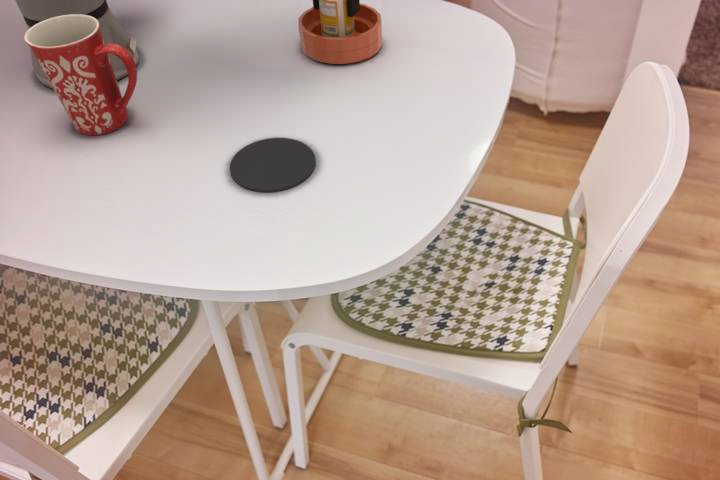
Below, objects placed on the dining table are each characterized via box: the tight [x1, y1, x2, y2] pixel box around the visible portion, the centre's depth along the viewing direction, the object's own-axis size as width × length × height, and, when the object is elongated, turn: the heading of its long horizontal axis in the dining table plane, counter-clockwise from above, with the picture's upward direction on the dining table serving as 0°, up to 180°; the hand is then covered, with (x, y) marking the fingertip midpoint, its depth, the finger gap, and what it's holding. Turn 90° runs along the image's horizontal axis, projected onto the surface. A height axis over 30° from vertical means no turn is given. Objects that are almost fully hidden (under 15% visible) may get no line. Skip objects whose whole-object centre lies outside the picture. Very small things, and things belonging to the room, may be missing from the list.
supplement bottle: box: [319, 0, 355, 38], centre depth 96 cm, size 5×5×10 cm
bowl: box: [297, 3, 383, 65], centre depth 99 cm, size 13×13×4 cm
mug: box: [23, 14, 138, 136], centre depth 81 cm, size 13×9×14 cm
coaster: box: [229, 137, 317, 193], centre depth 79 cm, size 11×11×1 cm
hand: (336, 9), depth 97 cm, fingers closed on supplement bottle, 5 cm apart
